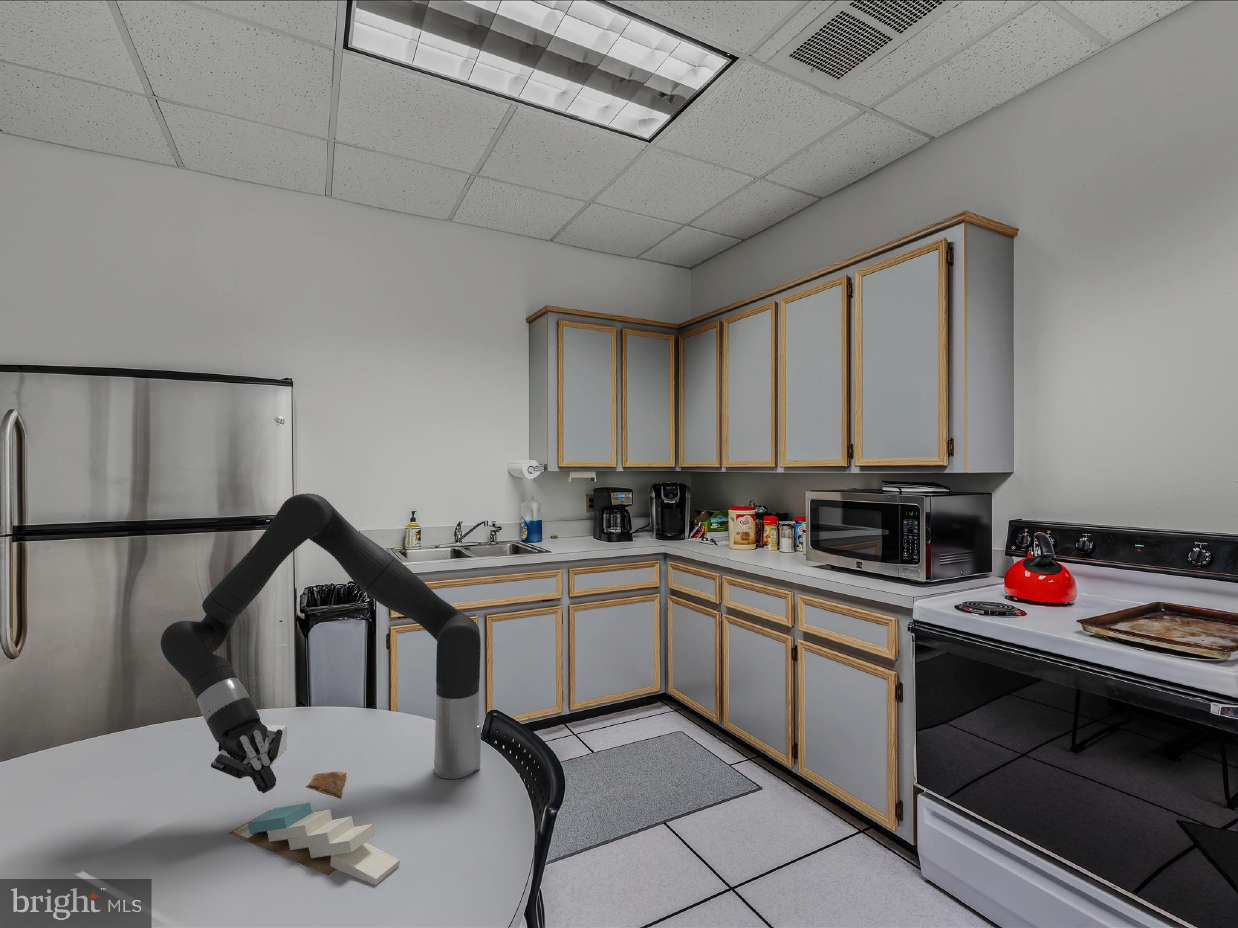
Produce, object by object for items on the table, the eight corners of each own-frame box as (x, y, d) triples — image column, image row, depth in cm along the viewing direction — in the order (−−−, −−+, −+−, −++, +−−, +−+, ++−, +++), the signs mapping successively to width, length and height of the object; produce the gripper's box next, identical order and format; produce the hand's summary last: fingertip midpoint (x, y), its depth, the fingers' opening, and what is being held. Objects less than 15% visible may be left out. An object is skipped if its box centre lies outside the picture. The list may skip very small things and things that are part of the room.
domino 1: (267, 830, 103) (304, 824, 99) (293, 815, 107) (330, 809, 103) (269, 841, 102) (307, 835, 99) (295, 825, 107) (332, 819, 103)
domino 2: (287, 839, 101) (326, 832, 97) (313, 823, 105) (351, 816, 101) (290, 850, 100) (329, 843, 97) (315, 833, 105) (354, 826, 101)
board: (228, 837, 104) (228, 832, 104) (270, 813, 112) (270, 808, 112) (328, 879, 94) (328, 873, 94) (367, 850, 102) (367, 845, 102)
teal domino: (247, 822, 105) (284, 817, 101) (274, 808, 109) (309, 802, 105) (249, 833, 104) (286, 827, 101) (276, 818, 109) (311, 812, 105)
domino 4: (331, 854, 96) (376, 878, 92) (355, 837, 101) (399, 859, 97) (330, 865, 96) (375, 889, 92) (354, 847, 101) (398, 870, 97)
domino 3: (308, 846, 98) (349, 840, 95) (333, 830, 103) (373, 823, 99) (311, 858, 98) (351, 851, 94) (336, 840, 103) (376, 834, 99)
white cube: (286, 751, 137) (287, 725, 137) (272, 763, 131) (273, 736, 131) (259, 750, 136) (260, 725, 136) (245, 764, 130) (246, 736, 130)
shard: (341, 804, 116) (341, 795, 116) (298, 811, 114) (298, 801, 114) (348, 777, 126) (348, 769, 126) (308, 782, 124) (309, 774, 124)
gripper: (200, 710, 104) (244, 796, 99) (270, 686, 116) (312, 761, 111) (181, 734, 106) (222, 819, 101) (252, 707, 118) (292, 782, 113)
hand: (269, 788), depth 106 cm, fingers closed
